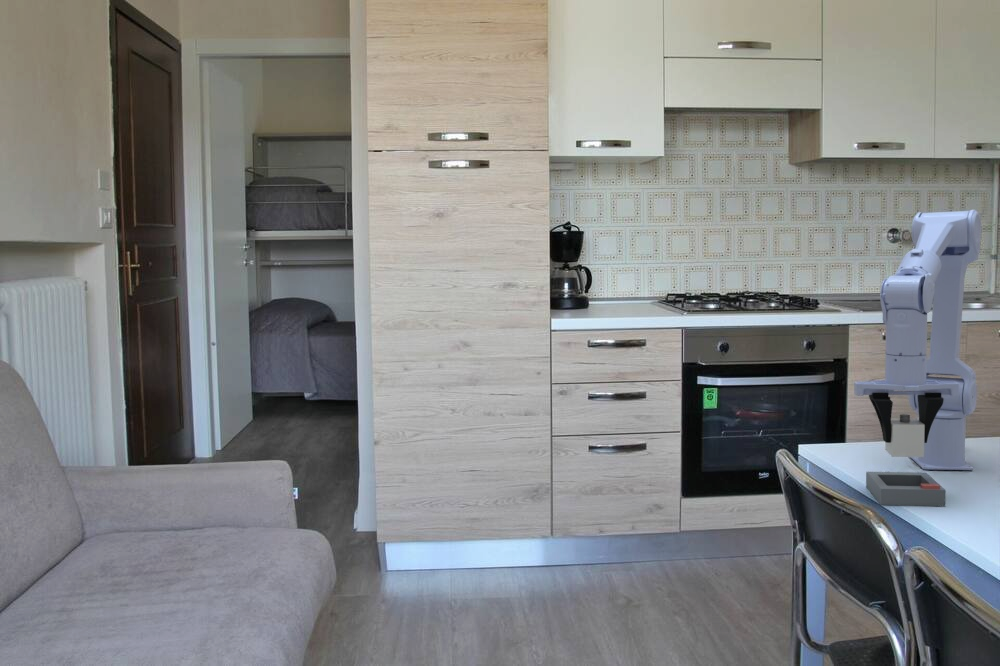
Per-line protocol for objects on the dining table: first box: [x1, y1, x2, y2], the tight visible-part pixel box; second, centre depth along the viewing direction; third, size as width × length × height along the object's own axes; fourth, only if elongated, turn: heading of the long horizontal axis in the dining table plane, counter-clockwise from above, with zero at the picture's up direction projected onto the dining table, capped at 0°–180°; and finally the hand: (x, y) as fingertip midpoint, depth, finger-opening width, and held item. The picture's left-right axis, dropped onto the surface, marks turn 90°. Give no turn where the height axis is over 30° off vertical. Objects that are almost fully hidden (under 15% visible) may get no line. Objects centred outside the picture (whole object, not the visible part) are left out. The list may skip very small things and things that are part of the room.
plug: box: [884, 413, 925, 458], centre depth 134 cm, size 4×4×6 cm
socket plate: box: [865, 471, 947, 507], centre depth 135 cm, size 10×9×3 cm
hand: (904, 441), depth 134 cm, fingers closed on plug, 4 cm apart
